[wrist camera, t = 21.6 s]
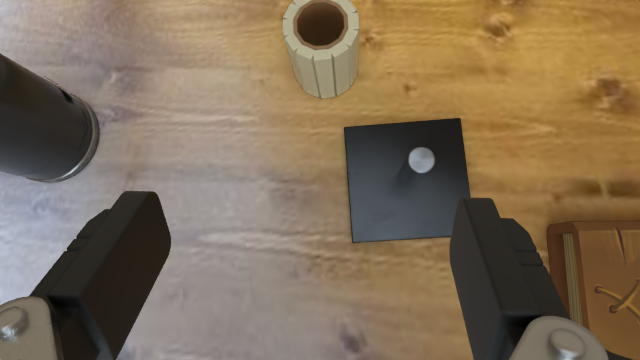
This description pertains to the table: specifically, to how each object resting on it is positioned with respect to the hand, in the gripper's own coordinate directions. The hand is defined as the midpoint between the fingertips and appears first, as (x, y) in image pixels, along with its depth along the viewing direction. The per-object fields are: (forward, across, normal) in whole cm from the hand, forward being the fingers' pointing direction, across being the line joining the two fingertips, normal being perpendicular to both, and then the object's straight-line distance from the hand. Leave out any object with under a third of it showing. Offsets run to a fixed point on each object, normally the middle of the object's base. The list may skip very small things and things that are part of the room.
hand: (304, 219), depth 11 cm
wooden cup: (+33, +2, +8) cm, 34 cm away
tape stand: (+25, -6, +16) cm, 30 cm away
